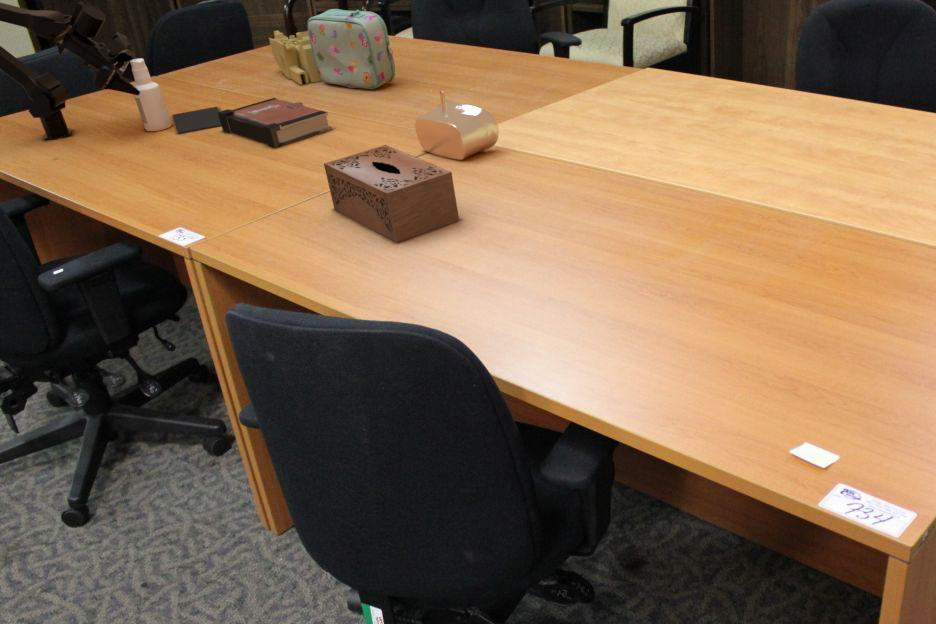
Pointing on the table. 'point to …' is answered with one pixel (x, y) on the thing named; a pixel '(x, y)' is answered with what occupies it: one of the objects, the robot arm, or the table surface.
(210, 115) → the pad
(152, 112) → the spray bottle
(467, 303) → the table surface
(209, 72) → the table surface
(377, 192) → the tissue box cover
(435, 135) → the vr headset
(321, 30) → the lunch box
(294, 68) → the beige blocky piece
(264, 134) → the book
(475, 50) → the table surface
